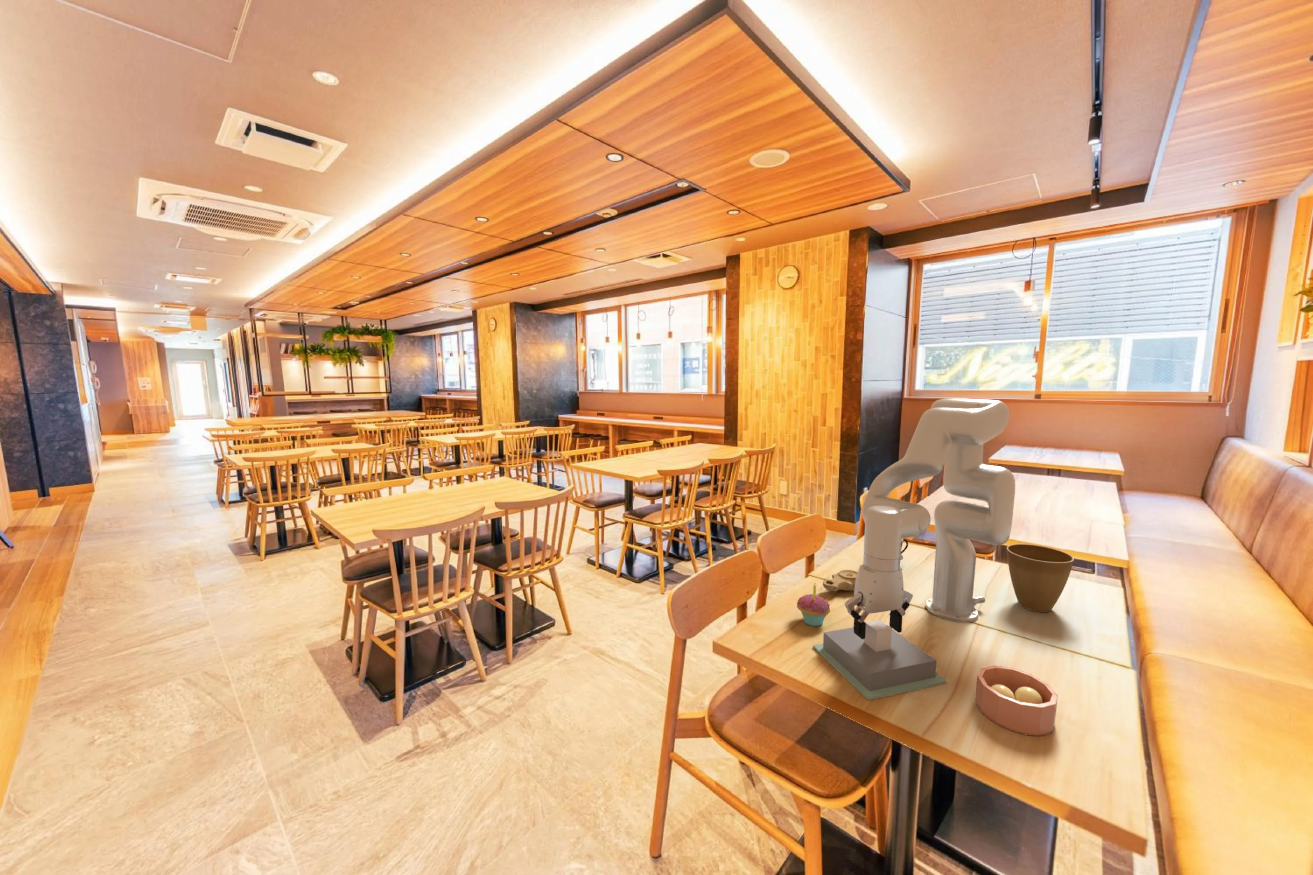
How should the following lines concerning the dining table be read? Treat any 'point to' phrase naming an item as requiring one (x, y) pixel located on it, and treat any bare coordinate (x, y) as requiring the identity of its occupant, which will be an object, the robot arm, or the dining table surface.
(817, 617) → the cupcake
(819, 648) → the mat
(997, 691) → the bowl
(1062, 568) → the plant pot
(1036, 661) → the dining table surface
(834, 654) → the cover
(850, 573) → the oil lamp
